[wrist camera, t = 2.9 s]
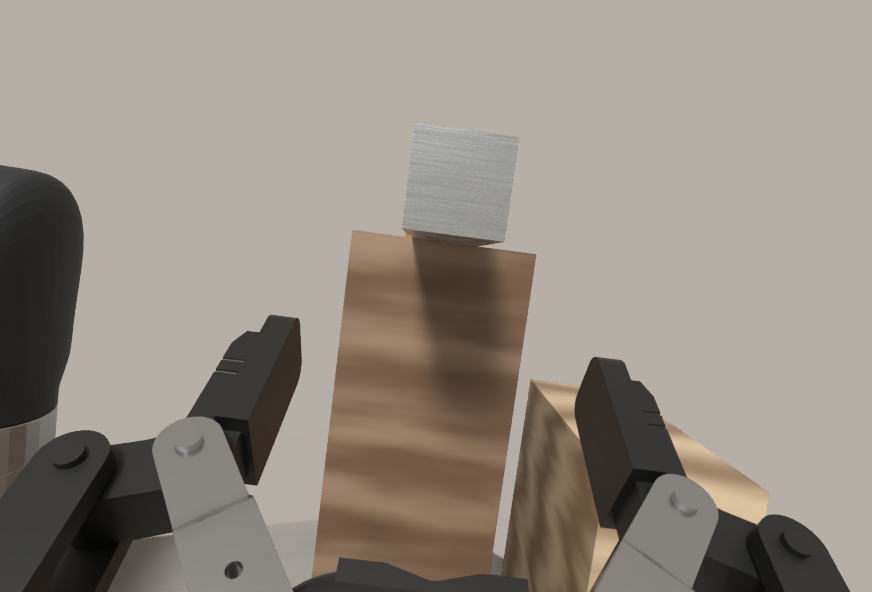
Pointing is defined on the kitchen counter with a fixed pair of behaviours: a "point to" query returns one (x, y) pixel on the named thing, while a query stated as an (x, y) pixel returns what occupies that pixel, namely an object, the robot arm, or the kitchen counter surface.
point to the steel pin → (459, 185)
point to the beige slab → (588, 496)
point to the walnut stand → (422, 404)
